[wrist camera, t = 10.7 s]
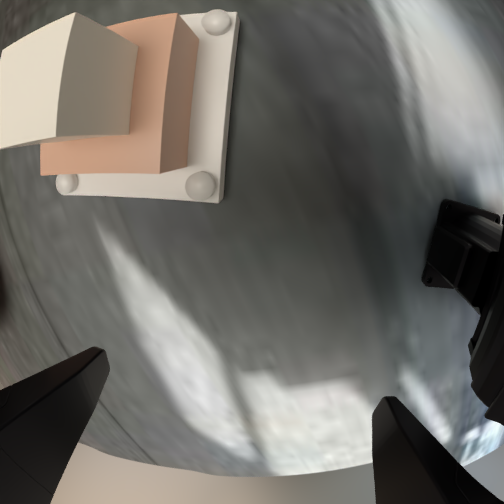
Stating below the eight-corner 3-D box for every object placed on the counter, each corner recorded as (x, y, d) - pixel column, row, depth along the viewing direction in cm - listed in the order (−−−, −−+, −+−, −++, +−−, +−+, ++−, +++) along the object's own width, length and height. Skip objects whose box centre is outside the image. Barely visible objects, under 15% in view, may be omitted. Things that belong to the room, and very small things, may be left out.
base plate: (239, 21, 13) (225, -21, 8) (223, 198, 17) (200, 220, 12) (85, 43, 14) (39, 27, 9) (73, 190, 18) (24, 208, 13)
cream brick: (138, 46, 10) (75, 11, 5) (128, 134, 11) (55, 136, 6) (68, 63, 10) (2, 50, 5) (61, 141, 11) (-11, 151, 7)
